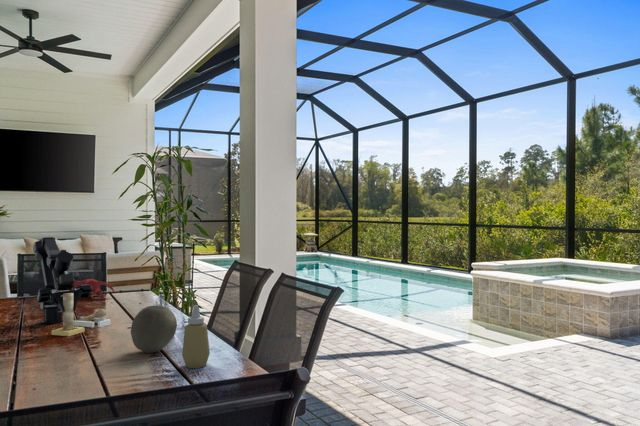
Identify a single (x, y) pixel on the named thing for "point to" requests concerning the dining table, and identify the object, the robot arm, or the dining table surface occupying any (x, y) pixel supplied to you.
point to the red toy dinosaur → (93, 285)
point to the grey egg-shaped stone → (153, 328)
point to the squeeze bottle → (195, 341)
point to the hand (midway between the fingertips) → (69, 310)
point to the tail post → (68, 311)
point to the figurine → (93, 316)
